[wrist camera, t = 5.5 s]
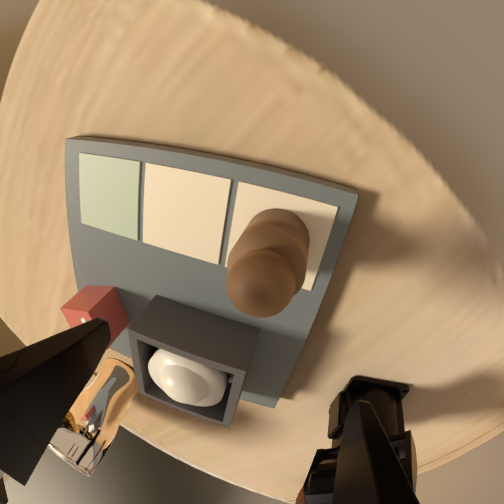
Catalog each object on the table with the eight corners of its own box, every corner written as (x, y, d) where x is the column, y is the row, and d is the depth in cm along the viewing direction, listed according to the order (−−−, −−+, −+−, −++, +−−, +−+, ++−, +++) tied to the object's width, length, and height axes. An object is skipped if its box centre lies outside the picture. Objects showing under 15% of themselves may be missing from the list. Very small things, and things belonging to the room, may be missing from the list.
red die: (114, 286, 24) (87, 312, 20) (129, 322, 26) (106, 349, 22) (86, 285, 25) (60, 308, 22) (101, 318, 27) (78, 343, 23)
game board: (356, 189, 17) (369, 222, 12) (276, 397, 28) (265, 445, 23) (77, 136, 20) (22, 150, 15) (95, 329, 30) (67, 362, 25)
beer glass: (94, 359, 34) (34, 437, 21) (118, 350, 31) (49, 443, 18) (128, 393, 36) (78, 472, 23) (155, 389, 33) (101, 482, 20)
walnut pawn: (317, 218, 17) (314, 277, 11) (299, 275, 19) (286, 348, 13) (252, 200, 18) (214, 248, 12) (240, 257, 19) (204, 323, 13)
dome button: (238, 346, 22) (220, 390, 18) (228, 390, 25) (213, 429, 21) (161, 319, 22) (134, 357, 18) (163, 367, 25) (143, 402, 22)
